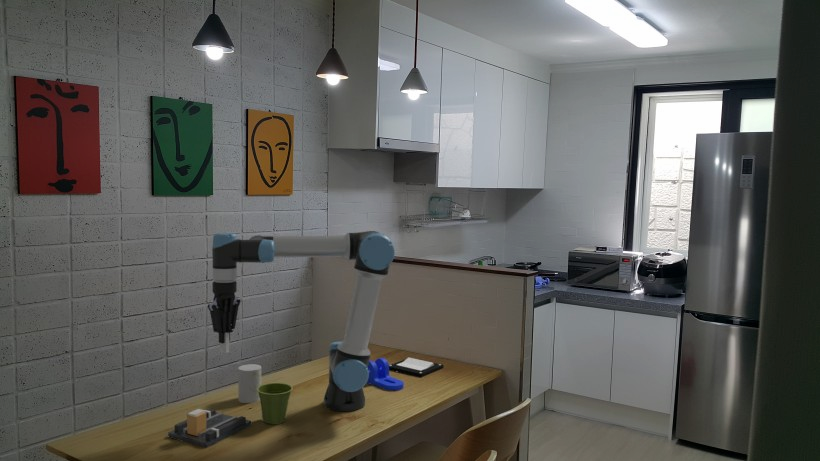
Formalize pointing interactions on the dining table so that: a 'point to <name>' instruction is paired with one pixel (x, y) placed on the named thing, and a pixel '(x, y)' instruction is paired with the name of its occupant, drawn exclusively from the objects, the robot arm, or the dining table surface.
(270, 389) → the plant pot
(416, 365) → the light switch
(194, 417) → the orange white block
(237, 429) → the panel
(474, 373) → the dining table surface
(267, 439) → the dining table surface
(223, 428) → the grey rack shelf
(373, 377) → the bracket
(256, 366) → the white cylinder
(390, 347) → the dining table surface
